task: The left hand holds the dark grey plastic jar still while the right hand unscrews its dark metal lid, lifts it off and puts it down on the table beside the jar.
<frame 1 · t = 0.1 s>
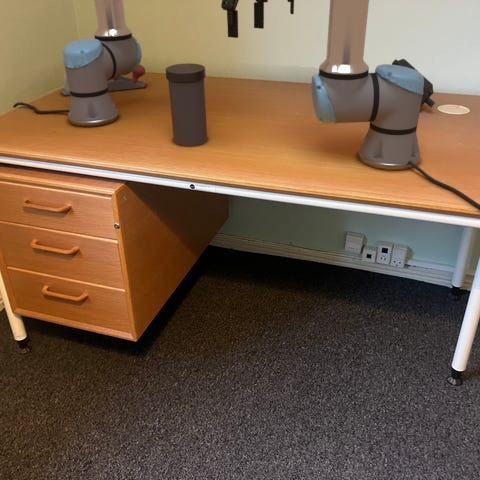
left hand: (246, 32, 143), 28 cm above the table, tool pointing down, fingers open, 13 cm apart
right hand: (313, 13, 165), 28 cm above the table, tool pointing down, fingers open, 13 cm apart
tool: (401, 107, 174), on the table
lid: (185, 69, 142), point 20 cm above the table, screwed on, not yet turned
hand plane: (105, 89, 198), on the table
jar: (190, 140, 153), on the table
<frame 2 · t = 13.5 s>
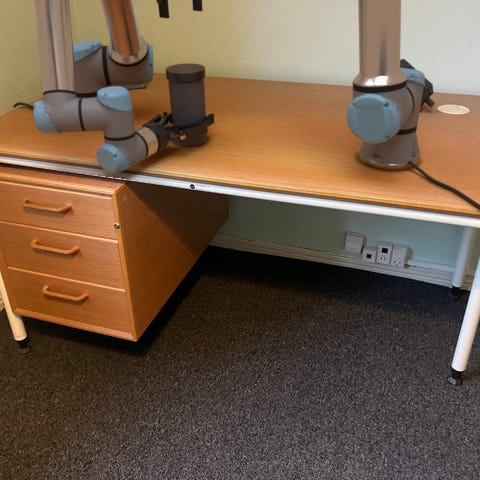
left hand: (198, 115, 153), 6 cm above the table, tool horizontal, fingers closed on jar, 10 cm apart
right hand: (181, 14, 135), 34 cm above the table, tool pointing down, fingers open, 11 cm apart
jar: (190, 140, 153), on the table, touching left hand
everything else where it was.
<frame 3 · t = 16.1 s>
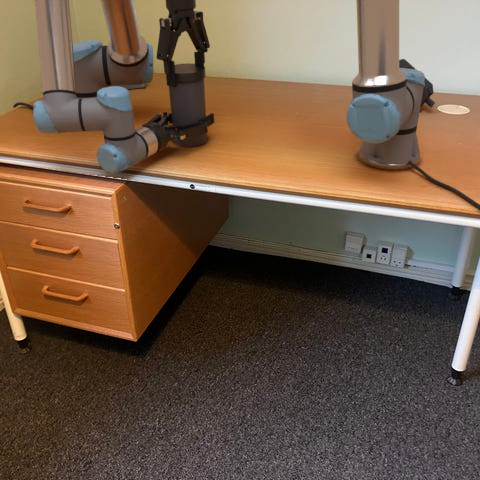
left hand: (197, 115, 153), 6 cm above the table, tool horizontal, fingers closed on jar, 10 cm apart
right hand: (186, 81, 144), 17 cm above the table, tool pointing down, fingers closed on lid, 10 cm apart
lid: (185, 69, 142), point 20 cm above the table, screwed on, not yet turned, touching right hand
jar: (190, 140, 153), on the table, touching left hand
everything else where it was.
when the right hand's fingers open (0 cm above the table, at t = 26.6 s): lid drops 1 cm, point 2 cm above the table.
when the left hand's fingers open (6 cm above the table, at t = 27.7 s): jar stays where it is, on the table.
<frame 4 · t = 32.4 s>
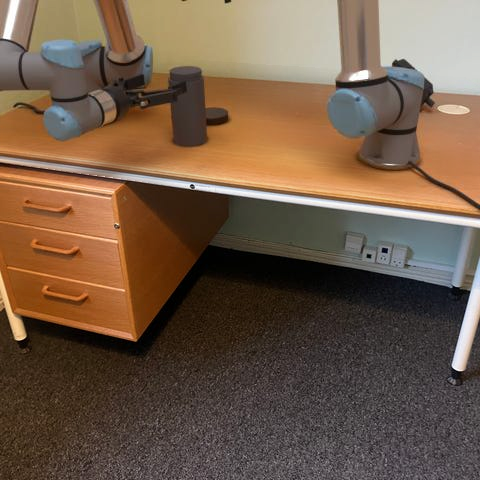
left hand: (163, 82, 136), 19 cm above the table, tool horizontal, fingers open, 13 cm apart
right hand: (206, 1, 149), 34 cm above the table, tool pointing down, fingers open, 13 cm apart
lid: (211, 113, 166), point 2 cm above the table, off its thread
jar: (190, 140, 153), on the table
everything else where it was.
at the end: lid came off its thread; lid point 2.0 cm above the table; the left hand is holding nothing; the right hand is holding nothing; jar tilted 0°; jar moved 0.0 cm from its start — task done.
